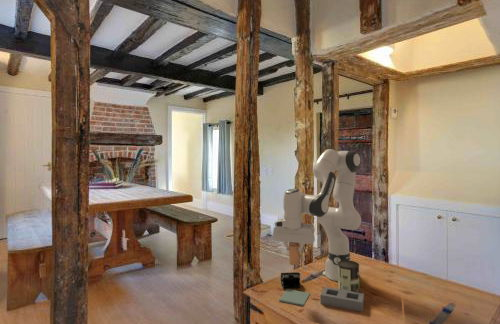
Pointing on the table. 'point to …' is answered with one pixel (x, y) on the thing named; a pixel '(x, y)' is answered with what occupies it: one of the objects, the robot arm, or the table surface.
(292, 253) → the plug
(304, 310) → the table surface
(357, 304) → the grey holed block
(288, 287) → the end cap
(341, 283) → the coffee can
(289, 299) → the mat
